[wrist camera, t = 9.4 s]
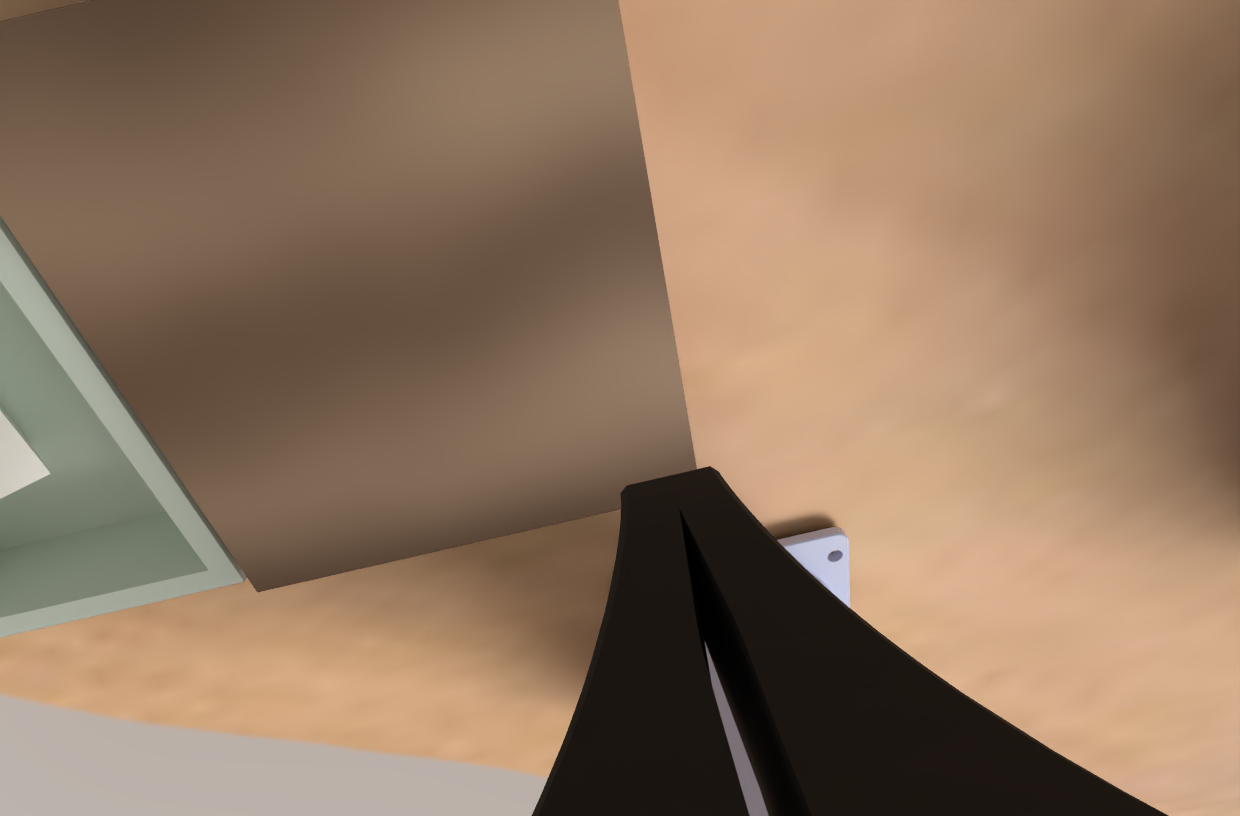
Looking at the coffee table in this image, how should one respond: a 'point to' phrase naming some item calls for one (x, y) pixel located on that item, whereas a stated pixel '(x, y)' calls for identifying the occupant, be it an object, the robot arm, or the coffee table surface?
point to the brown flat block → (355, 260)
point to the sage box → (86, 478)
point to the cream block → (17, 458)
